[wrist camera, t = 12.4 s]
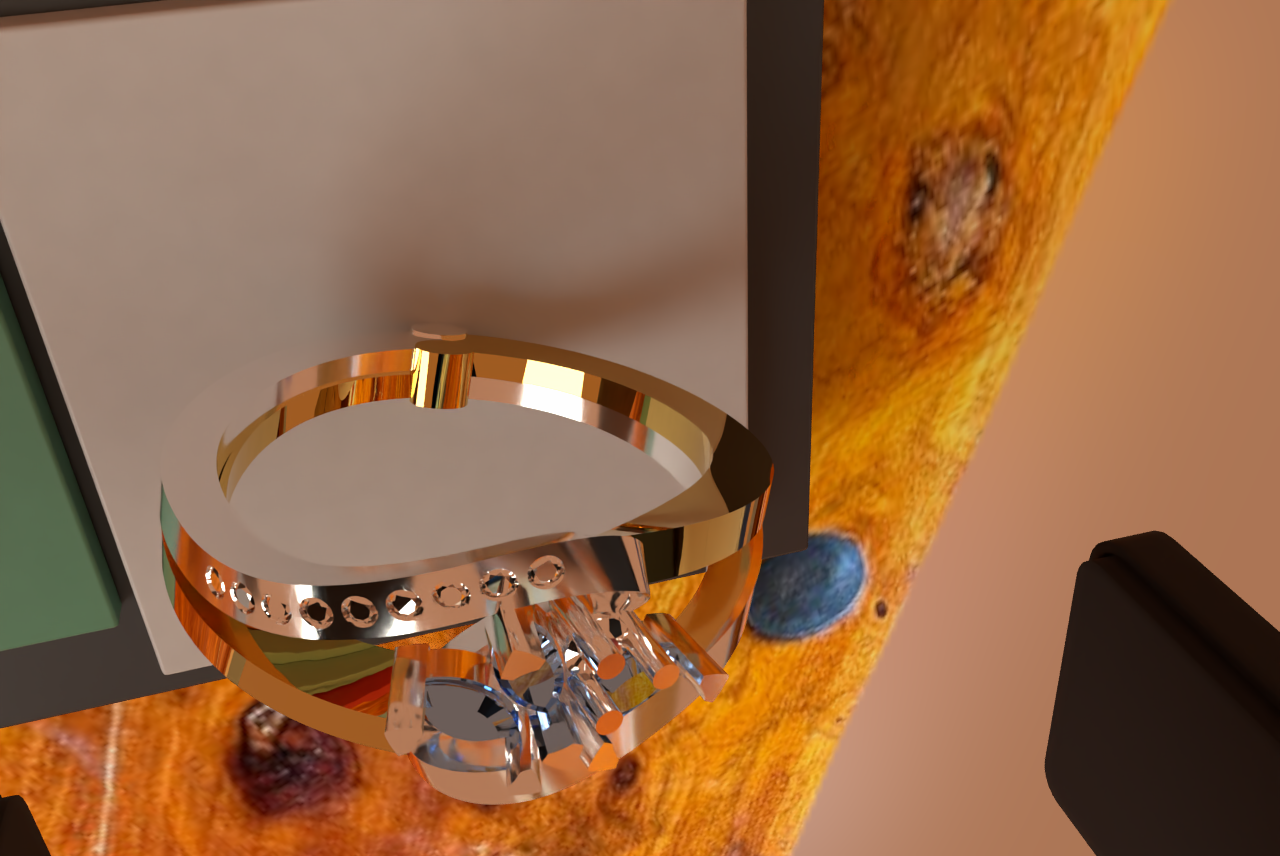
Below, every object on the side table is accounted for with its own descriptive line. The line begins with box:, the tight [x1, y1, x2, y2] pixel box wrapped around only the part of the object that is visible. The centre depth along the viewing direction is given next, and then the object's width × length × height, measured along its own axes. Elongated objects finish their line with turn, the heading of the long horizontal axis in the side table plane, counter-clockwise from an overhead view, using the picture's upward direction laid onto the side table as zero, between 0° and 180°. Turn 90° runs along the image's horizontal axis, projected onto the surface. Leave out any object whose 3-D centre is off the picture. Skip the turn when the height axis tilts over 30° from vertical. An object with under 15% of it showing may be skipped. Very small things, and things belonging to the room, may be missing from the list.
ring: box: [159, 323, 774, 804], centre depth 14 cm, size 7×3×8 cm, turn 79°
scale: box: [0, 0, 824, 728], centre depth 18 cm, size 15×12×4 cm
